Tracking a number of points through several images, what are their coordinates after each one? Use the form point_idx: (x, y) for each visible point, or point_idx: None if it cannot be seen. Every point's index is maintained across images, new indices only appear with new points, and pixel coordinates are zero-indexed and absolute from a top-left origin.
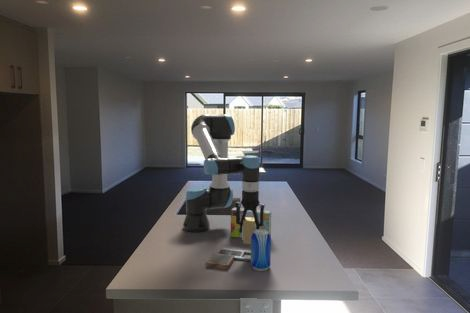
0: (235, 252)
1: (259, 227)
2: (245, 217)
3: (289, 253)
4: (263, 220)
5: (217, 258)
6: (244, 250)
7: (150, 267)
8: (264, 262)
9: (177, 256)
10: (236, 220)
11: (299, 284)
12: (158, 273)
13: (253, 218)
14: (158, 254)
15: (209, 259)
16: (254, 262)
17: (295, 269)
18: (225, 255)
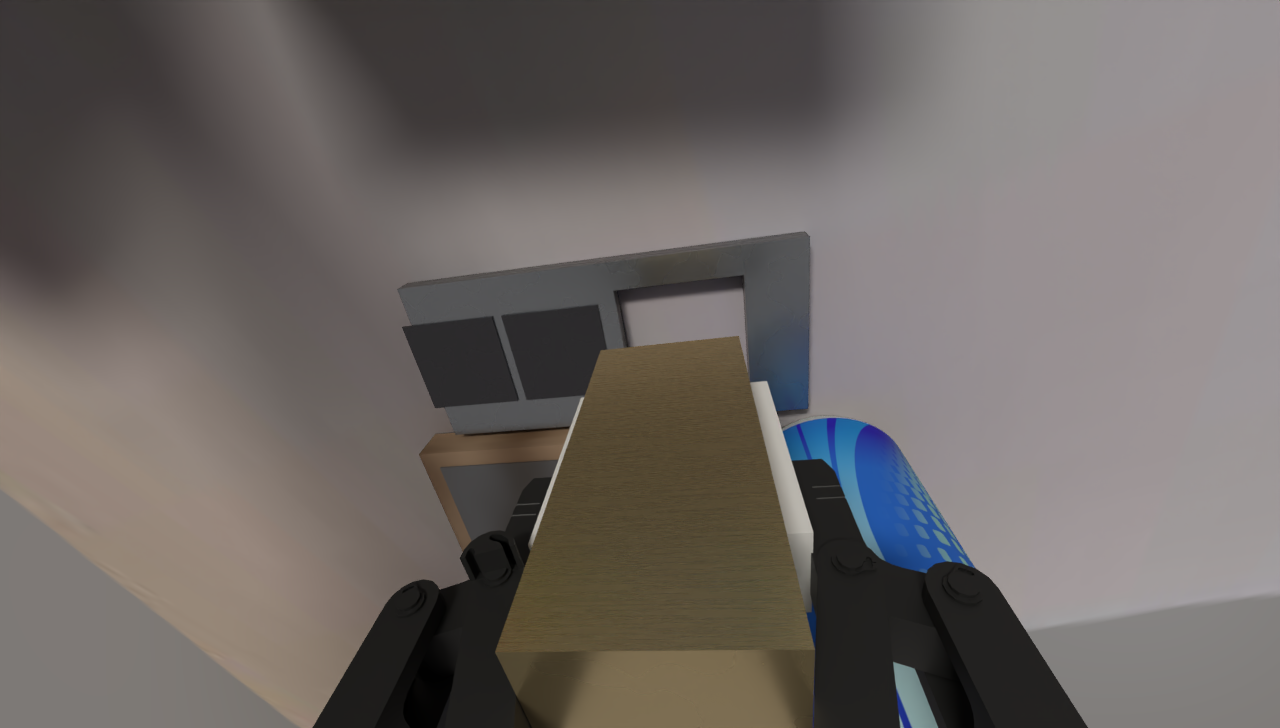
0: (548, 343)
1: (858, 530)
2: (511, 679)
3: (1117, 64)
4: (1048, 700)
5: (501, 516)
6: (601, 266)
7: (260, 614)
8: None
9: (240, 488)
10: (411, 714)
11: (1105, 580)
12: (342, 644)
13: (741, 692)
14: (133, 499)
15: (464, 538)
16: None
17: (1117, 414)
18: (523, 463)
